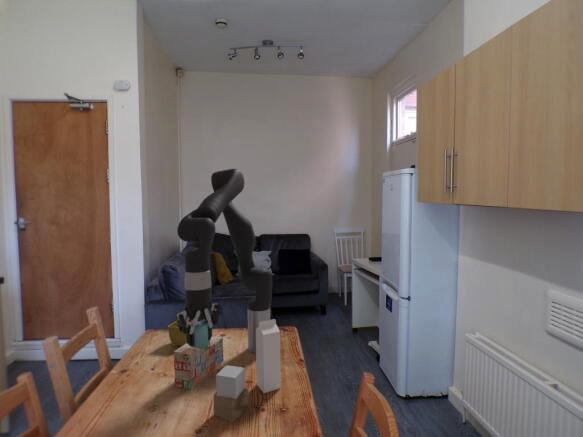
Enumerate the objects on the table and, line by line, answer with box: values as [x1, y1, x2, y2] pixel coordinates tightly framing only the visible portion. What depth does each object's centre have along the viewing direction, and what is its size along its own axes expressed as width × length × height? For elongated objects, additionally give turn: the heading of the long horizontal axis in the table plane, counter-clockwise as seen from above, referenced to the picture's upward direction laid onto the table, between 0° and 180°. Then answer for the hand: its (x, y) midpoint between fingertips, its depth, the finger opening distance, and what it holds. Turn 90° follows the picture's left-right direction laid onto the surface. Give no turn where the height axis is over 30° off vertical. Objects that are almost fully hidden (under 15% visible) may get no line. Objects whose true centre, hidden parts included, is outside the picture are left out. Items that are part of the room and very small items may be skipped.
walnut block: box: [213, 387, 250, 424], centre depth 99 cm, size 7×7×6 cm
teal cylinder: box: [192, 321, 208, 348], centre depth 101 cm, size 5×5×6 cm
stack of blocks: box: [173, 335, 224, 391], centre depth 121 cm, size 21×6×12 cm, turn 162°
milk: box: [255, 318, 282, 394], centre depth 112 cm, size 6×6×22 cm
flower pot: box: [167, 319, 193, 347], centre depth 147 cm, size 9×9×9 cm
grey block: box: [215, 365, 246, 399], centre depth 98 cm, size 6×6×6 cm
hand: (199, 342), depth 101 cm, fingers closed on teal cylinder, 5 cm apart
